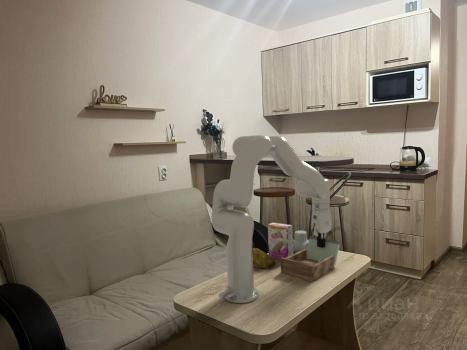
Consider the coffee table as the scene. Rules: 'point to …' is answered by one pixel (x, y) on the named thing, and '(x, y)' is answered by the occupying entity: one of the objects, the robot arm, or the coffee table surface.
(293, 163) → the robot arm
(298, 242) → the air freshener
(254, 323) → the coffee table surface
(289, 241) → the candy bar box
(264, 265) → the potato
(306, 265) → the brown wooden tray
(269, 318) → the coffee table surface
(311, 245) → the panel
